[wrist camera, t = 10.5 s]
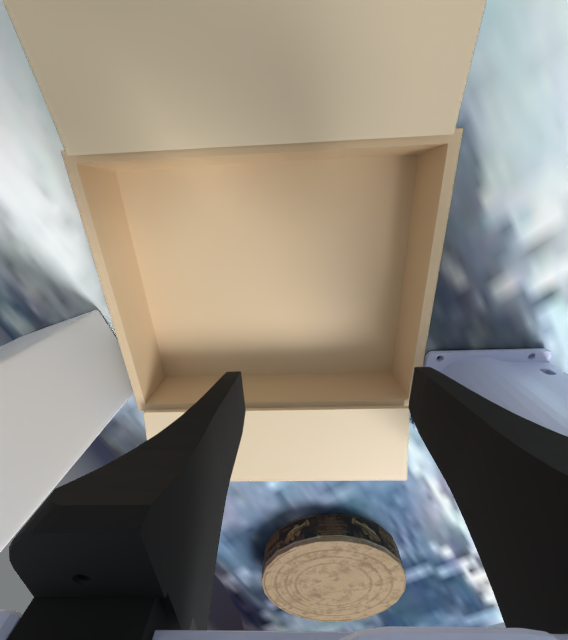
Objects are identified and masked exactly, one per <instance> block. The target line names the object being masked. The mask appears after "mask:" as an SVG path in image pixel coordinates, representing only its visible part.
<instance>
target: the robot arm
mask: <svg viewBox="0 0 568 640" xmlns="http://www.w3.org/2000/svg"><path fill="white" fill-rule="evenodd" d="M530 354H531V355H530ZM551 354H552V353H551V352H550V351H549V350H547V349H544V348H537V349H496V350H455V351H430V352H428V353H427V354H426V356H425V361H424V367H415V368H414V374H413V380H412V387H411V393H410V399H409V405H408V408H409V411H410V413H411V416H412V419H413V421H414V428H415V429H416V430H417V431H418V432H419V434H420V436H421V438H422V440H423V441H424V443H425V445H426V447H427V449H428V450H429V452H430V454H431V456H432V457H433V459H434V461H435V463H436V464H437V466H438V468H439V470H440V471H441V473H442V475H443V477H444V479H445V480H446V482H447V484H448V486H449V488H450V490H451V492H452V494H453V496H454V498H455V500H456V503H457V505H458V507H459V509H460V511H461V514H462V516H463V518H464V520H465V523H466V525H467V527H468V530H469V532H470V535H471V537H472V539H473V542H474V544H475V547H476V549H477V551H478V554H479V556H480V559H481V561H482V564H483V567H484V569H485V572H486V574H487V577H488V579H489V582H490V585H491V587H492V590H493V592H494V595H495V598H496V601H497V603H498V606H499V609H500V612H501V614H502V617H503V620H504V623H505V625H506V628H474V627H380V628H372V629H364V630H359V631H357V632H303V631H207V626H208V618H209V610H210V602H211V593H212V586H213V579H214V572H215V565H216V558H217V551H218V545H219V538H220V532H221V525H222V519H223V513H224V507H225V501H226V495H227V491H228V486H229V482H230V479H231V475H232V471H233V467H234V464H235V460H236V456H237V452H238V449H239V445H240V441H241V437H242V433H243V427H244V419H245V412H246V409H245V400H244V392H243V384H242V375H241V371H235V372H226V373H225V374H224V375H223V376H222V377H221V378H220V379H219V380H218V381H217V382H216V383H215V384H214V385H213V386H212V387H211V388H210V389H209V390H208V391H207V392H206V393H205V394H204V395H203V396H202V397H201V398H200V399H199V400H198V401H197V402H196V403H195V404H194V405H193V406H192V407H190V408H189V409H188V410H187V411H186V412H185V413H184V414H183V415H181V416H180V417H179V418H178V419H177V420H175V421H174V422H173V423H171V424H170V425H169V426H167V427H166V428H165V429H163V430H162V431H161V432H159V433H158V434H156V435H155V436H153V437H152V438H150V439H149V440H147V441H146V442H144V443H142V444H141V445H139V446H138V447H136V448H135V449H133V450H131V451H130V452H128V453H126V454H125V455H123V456H121V457H119V458H118V459H116V460H114V461H112V462H110V463H108V464H107V465H105V466H103V467H101V468H99V469H97V470H95V471H93V472H91V473H89V474H87V475H85V476H82V477H80V478H78V479H76V480H74V481H72V482H70V483H67V484H65V485H63V486H61V487H59V488H56V489H55V490H54V491H53V492H52V493H51V494H50V496H49V497H48V498H47V499H46V500H45V502H44V503H43V504H42V505H41V506H40V508H39V509H38V510H37V511H36V512H35V514H34V515H33V516H32V517H31V518H30V520H29V521H28V522H27V523H26V525H25V526H24V527H23V528H22V529H21V531H20V532H19V533H18V534H17V535H16V537H15V538H14V539H13V541H12V543H11V545H10V547H9V558H10V562H11V564H12V566H13V568H14V569H15V571H16V572H17V574H18V575H19V577H20V578H21V579H22V581H23V582H24V584H25V585H26V586H27V588H28V589H29V591H30V592H31V593H32V595H33V596H34V599H33V600H32V602H31V603H30V605H29V606H28V608H27V609H26V611H25V612H24V614H23V615H22V614H21V613H18V612H16V611H13V610H6V609H1V610H0V640H568V374H567V373H565V372H563V371H562V370H560V369H558V368H557V367H555V366H554V365H552V364H550V363H549V361H550V358H551ZM529 355H530V356H529ZM438 356H441V357H440V358H439V359H437V357H438ZM528 356H529V357H528Z"/></svg>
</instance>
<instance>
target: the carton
mask: <svg viewBox="0 0 568 640" xmlns="http://www.w3.org/2000/svg"><path fill="white" fill-rule="evenodd" d="M462 133H463V128H455V131H454V134H451V135H433V136H415V137H397V138H379V139H361V140H343V141H325V142H307V143H289V144H271V145H253V146H235V147H217V148H199V149H181V150H162V151H144V152H126V153H108V154H90V155H72V156H68V155H67V153H66V150H63V151H61V153H62V156H63V160H64V163H65V166H66V170H67V173H68V176H69V180H70V183H71V186H72V189H73V193H74V196H75V199H76V203H77V206H78V209H79V213H80V216H81V219H82V223H83V226H84V229H85V233H86V236H87V239H88V243H89V246H90V249H91V252H92V256H93V259H94V262H95V266H96V269H97V272H98V276H99V279H100V282H101V286H102V289H103V292H104V296H105V299H106V302H107V306H108V309H109V312H110V315H111V319H112V322H113V325H114V329H115V332H116V335H117V339H118V342H119V345H120V349H121V352H122V355H123V359H124V362H125V365H126V369H127V372H128V375H129V378H130V382H131V385H132V388H133V392H134V395H135V398H136V402H137V405H138V408H139V411H146V410H171V409H189V408H190V407H192V406H193V405H194V404H195V403H196V402H197V401H198V400H199V399H200V398H201V397H202V396H203V395H204V394H205V393H206V392H207V391H208V390H209V389H210V388H211V387H212V386H213V385H214V384H215V383H216V382H217V381H218V380H219V379H220V378H221V377H222V376H223V375H224V374H225V373H226V372H235V371H241V375H242V384H243V392H244V400H245V408H292V407H352V406H408V405H409V399H410V393H411V387H412V380H413V374H414V368H415V367H423V362H424V356H425V350H426V344H427V338H428V332H429V327H430V321H431V315H432V309H433V303H434V297H435V291H436V285H437V280H438V274H439V268H440V262H441V256H442V250H443V244H444V239H445V233H446V227H447V221H448V215H449V209H450V203H451V198H452V192H453V186H454V180H455V174H456V168H457V162H458V157H459V151H460V145H461V139H462Z"/></svg>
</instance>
